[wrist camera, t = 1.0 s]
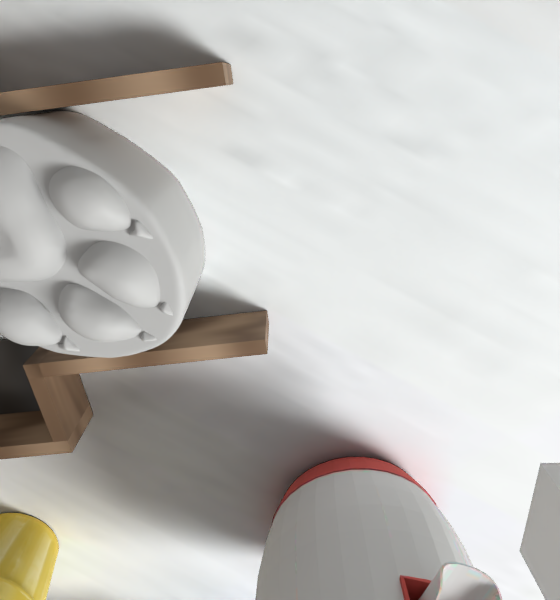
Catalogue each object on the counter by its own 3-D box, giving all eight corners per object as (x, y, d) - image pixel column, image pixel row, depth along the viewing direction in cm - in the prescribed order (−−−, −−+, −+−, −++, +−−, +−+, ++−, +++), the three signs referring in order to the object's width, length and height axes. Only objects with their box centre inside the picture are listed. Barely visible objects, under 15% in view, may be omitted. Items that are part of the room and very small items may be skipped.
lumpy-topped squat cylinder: (48, 83, 27) (-47, 86, 19) (242, 218, 30) (228, 267, 22) (-22, 230, 31) (-128, 283, 23) (157, 337, 34) (119, 416, 26)
